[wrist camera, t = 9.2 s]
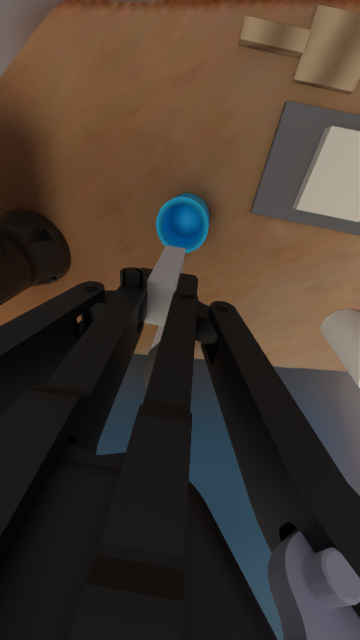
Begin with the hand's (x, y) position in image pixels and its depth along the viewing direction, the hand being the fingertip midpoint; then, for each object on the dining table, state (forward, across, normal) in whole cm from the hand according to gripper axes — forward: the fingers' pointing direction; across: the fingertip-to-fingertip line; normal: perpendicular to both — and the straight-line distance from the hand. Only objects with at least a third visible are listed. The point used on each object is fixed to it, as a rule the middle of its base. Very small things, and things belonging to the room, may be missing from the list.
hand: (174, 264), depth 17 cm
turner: (+27, +11, +21) cm, 36 cm away
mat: (+27, +20, +8) cm, 35 cm away
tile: (+24, +16, +8) cm, 31 cm away
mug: (+28, -1, -3) cm, 28 cm away
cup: (+26, +36, -17) cm, 48 cm away
